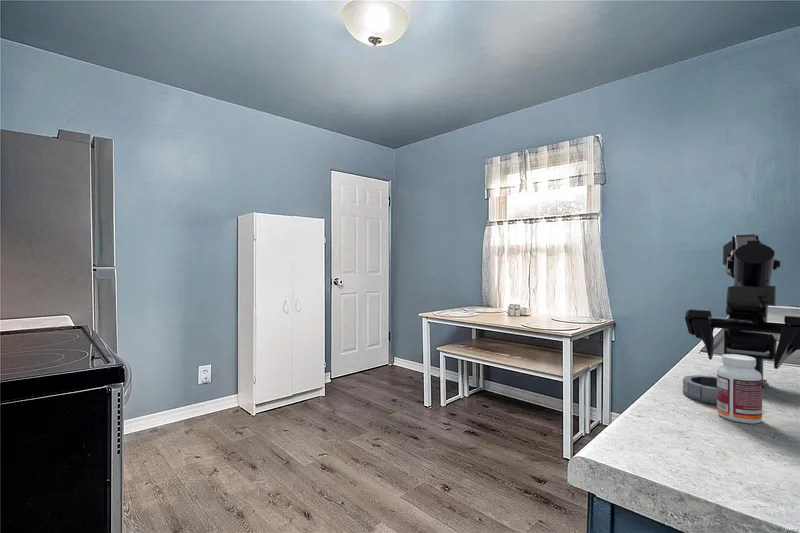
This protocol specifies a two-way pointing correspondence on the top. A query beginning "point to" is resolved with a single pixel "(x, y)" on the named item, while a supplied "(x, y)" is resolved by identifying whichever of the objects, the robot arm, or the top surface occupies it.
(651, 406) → the top surface
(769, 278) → the robot arm
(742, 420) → the pill bottle
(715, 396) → the ring
